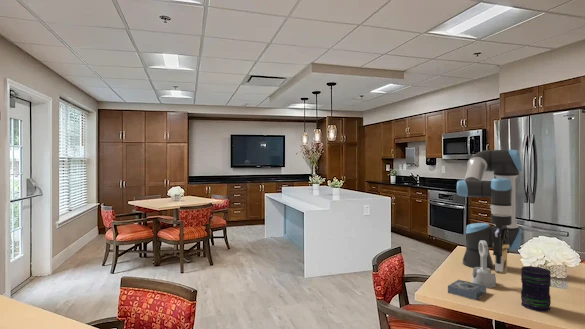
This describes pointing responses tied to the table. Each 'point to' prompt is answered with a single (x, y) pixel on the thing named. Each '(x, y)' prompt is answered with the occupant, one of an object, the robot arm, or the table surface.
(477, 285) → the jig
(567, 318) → the table surface
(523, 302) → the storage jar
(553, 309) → the table surface
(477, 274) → the engine component
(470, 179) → the robot arm
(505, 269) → the brass flared knob
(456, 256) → the table surface
